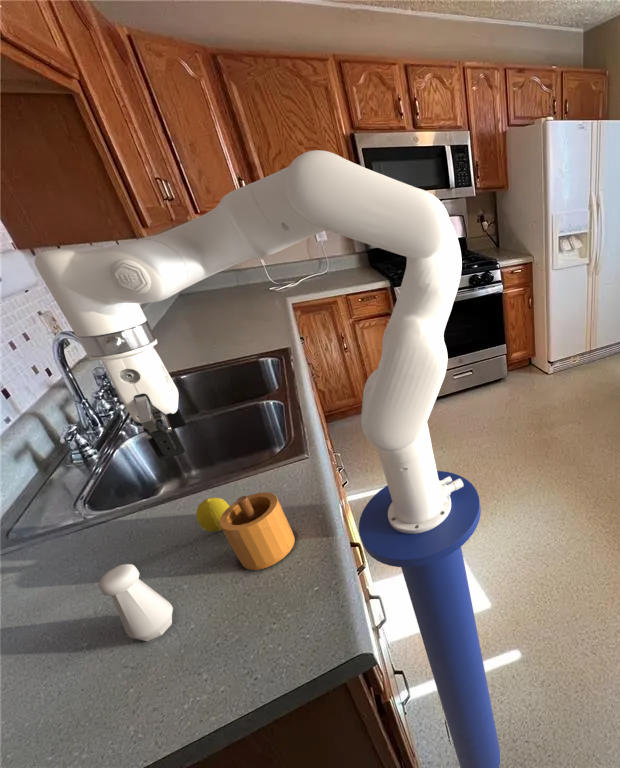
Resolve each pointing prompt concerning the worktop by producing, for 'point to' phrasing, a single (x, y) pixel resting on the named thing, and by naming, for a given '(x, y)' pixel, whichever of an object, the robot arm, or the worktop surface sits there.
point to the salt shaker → (136, 603)
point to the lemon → (211, 513)
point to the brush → (246, 509)
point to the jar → (258, 532)
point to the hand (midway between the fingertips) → (174, 441)
